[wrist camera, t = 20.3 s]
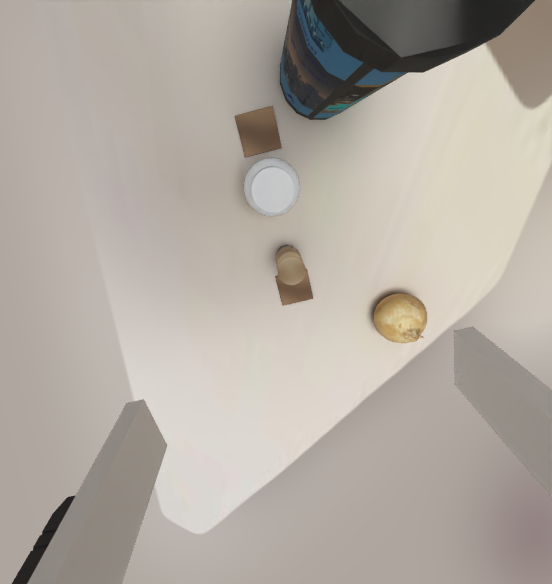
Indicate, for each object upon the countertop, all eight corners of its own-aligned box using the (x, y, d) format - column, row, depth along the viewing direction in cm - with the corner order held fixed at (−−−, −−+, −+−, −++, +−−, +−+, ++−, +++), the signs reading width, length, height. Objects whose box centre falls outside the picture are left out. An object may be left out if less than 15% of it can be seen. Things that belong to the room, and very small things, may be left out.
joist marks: (234, 116, 41) (234, 116, 41) (272, 106, 41) (272, 105, 41) (282, 304, 52) (282, 305, 51) (312, 297, 51) (313, 298, 51)
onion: (361, 323, 54) (374, 346, 47) (382, 281, 51) (400, 299, 44) (402, 336, 55) (422, 360, 48) (426, 295, 52) (449, 315, 46)
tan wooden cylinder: (273, 245, 48) (275, 261, 40) (297, 241, 48) (303, 256, 40) (277, 268, 49) (280, 287, 42) (300, 263, 49) (307, 282, 42)
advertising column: (283, 134, 42) (325, 86, 14) (265, 30, 38) (275, -323, 10) (368, 115, 42) (579, 28, 14) (360, 7, 37) (640, -425, 10)
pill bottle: (262, 215, 46) (262, 233, 35) (237, 174, 44) (229, 180, 33) (301, 191, 45) (314, 201, 34) (278, 148, 43) (283, 144, 32)
